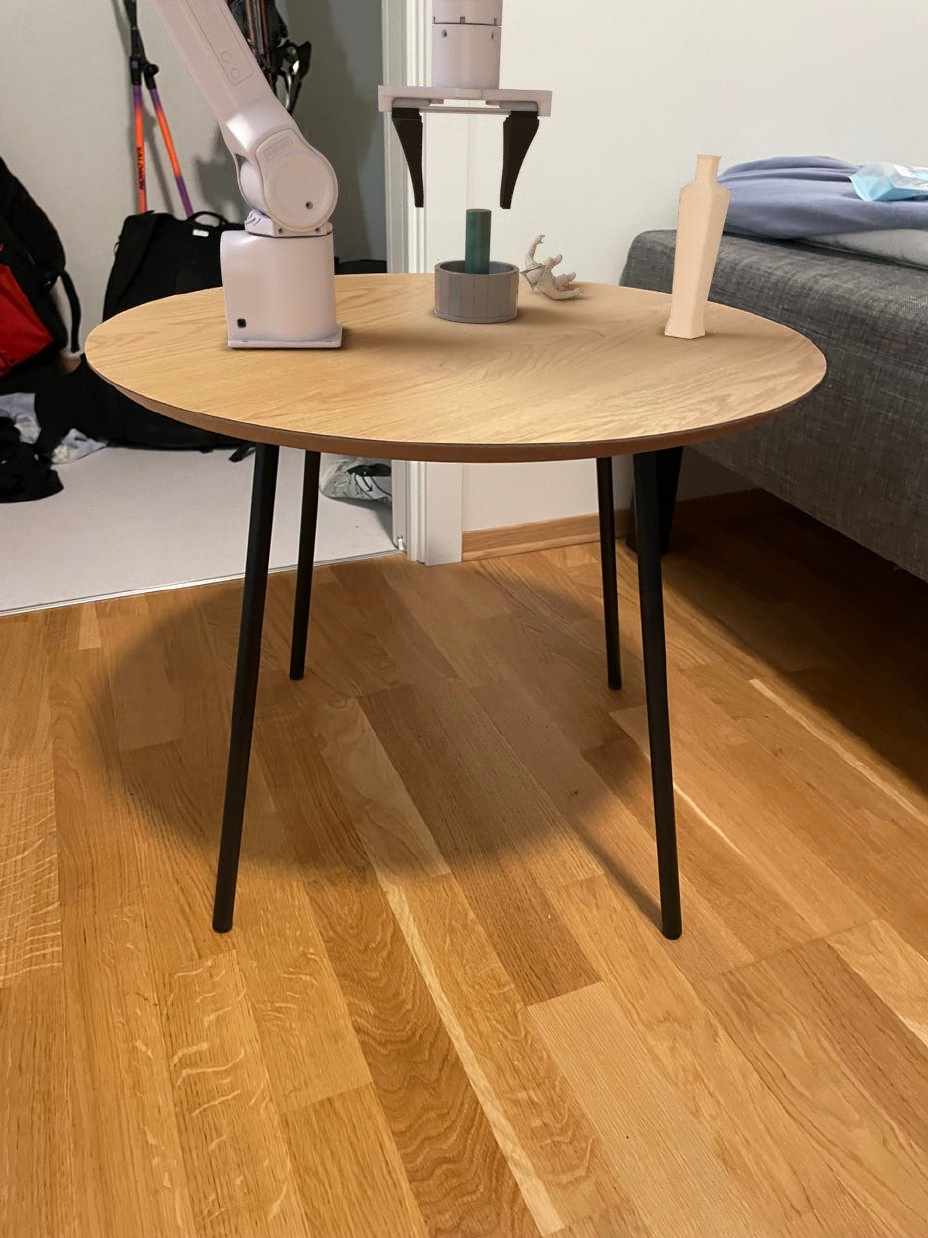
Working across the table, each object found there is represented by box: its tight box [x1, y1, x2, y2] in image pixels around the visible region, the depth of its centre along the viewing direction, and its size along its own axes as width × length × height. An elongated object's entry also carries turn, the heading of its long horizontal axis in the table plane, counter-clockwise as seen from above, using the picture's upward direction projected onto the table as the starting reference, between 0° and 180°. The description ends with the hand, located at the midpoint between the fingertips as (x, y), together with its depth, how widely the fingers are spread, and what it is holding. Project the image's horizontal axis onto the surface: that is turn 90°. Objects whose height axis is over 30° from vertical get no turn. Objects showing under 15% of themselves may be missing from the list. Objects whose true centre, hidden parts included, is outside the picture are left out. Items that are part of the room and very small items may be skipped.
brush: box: [464, 208, 493, 274], centre depth 90 cm, size 3×3×9 cm
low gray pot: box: [433, 259, 520, 324], centre depth 92 cm, size 8×8×4 cm
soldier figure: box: [519, 234, 585, 300], centre depth 101 cm, size 8×5×12 cm
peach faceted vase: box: [664, 154, 732, 339], centre depth 84 cm, size 5×4×15 cm
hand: (462, 207), depth 83 cm, fingers open, 7 cm apart
